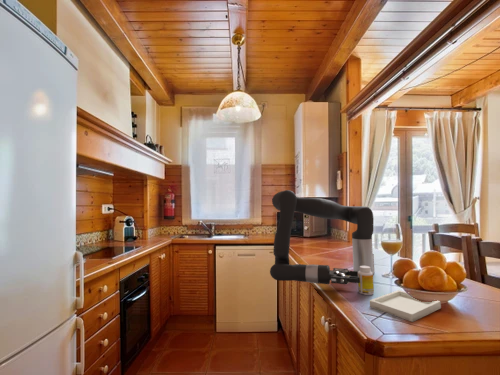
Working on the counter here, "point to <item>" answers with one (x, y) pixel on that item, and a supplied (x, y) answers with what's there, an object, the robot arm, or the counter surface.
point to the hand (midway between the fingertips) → (359, 277)
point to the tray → (404, 305)
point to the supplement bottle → (365, 281)
